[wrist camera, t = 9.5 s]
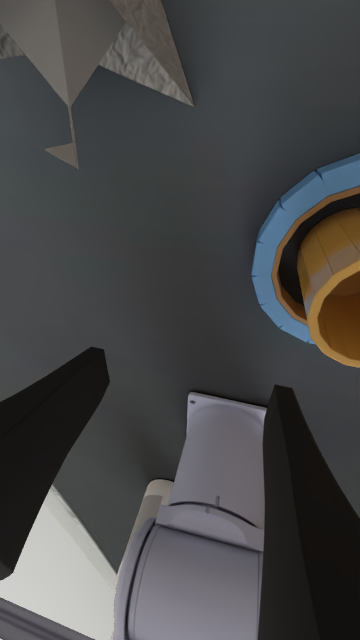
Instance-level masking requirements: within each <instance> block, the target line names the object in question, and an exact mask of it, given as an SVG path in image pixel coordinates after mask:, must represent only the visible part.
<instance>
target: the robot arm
mask: <svg viewBox="0 0 360 640" xmlns="http://www.w3.org/2000/svg"><path fill="white" fill-rule="evenodd" d="M109 383H110V380H109V375H108V370H107V364H106V359H105V353H104V349H99V348H94V347H90V348H89V349H87V350H85V351H84V352H82V353H81V354H79V355H78V356H76V357H75V358H73V359H72V360H70V361H69V362H67V363H66V364H64V365H63V366H61V367H60V368H58V369H56V370H55V371H53V372H52V373H50V374H49V375H47V376H46V377H44V378H42V379H41V380H39V381H37V382H35V383H34V384H32V385H30V386H29V387H27V388H25V389H24V390H22V391H20V392H18V393H17V394H15V395H13V396H11V397H9V398H7V399H5V400H3V401H1V402H0V580H3V579H5V578H6V577H8V576H10V575H11V574H12V573H13V571H14V569H15V566H16V564H17V561H18V559H19V556H20V554H21V552H22V549H23V547H24V544H25V542H26V540H27V537H28V535H29V532H30V530H31V528H32V526H33V524H34V521H35V519H36V517H37V515H38V513H39V510H40V508H41V506H42V504H43V502H44V500H45V498H46V496H47V494H48V491H49V489H50V487H51V485H52V483H53V481H54V479H55V477H56V475H57V473H58V471H59V469H60V468H61V466H62V464H63V462H64V460H65V458H66V456H67V454H68V453H69V451H70V449H71V448H72V446H73V445H74V443H75V441H76V440H77V438H78V437H79V435H80V434H81V432H82V431H83V429H84V427H85V426H86V424H87V423H88V421H89V420H90V418H91V416H92V415H93V413H94V412H95V410H96V408H97V407H98V405H99V404H100V402H101V400H102V398H103V396H104V394H105V391H106V389H107V387H108V385H109ZM264 501H265V526H264ZM114 619H115V620H114V633H113V640H360V518H359V517H358V515H357V514H356V512H355V511H354V509H353V507H352V506H351V504H350V503H349V501H348V499H347V498H346V496H345V495H344V493H343V491H342V490H341V488H340V486H339V485H338V483H337V481H336V480H335V478H334V476H333V474H332V473H331V471H330V469H329V467H328V465H327V464H326V462H325V460H324V458H323V456H322V454H321V452H320V450H319V448H318V446H317V444H316V442H315V440H314V438H313V436H312V434H311V432H310V430H309V428H308V425H307V423H306V421H305V419H304V416H303V414H302V412H301V409H300V407H299V404H298V401H297V399H296V396H295V393H294V391H293V389H292V388H289V387H284V386H279V385H274V389H273V392H272V395H271V398H270V401H269V404H268V407H267V408H265V407H260V406H256V405H251V404H247V403H242V402H237V401H233V400H228V399H223V398H219V397H214V396H209V395H205V394H200V393H196V392H190V393H189V395H188V411H187V437H186V441H185V444H184V448H183V452H182V455H181V459H180V463H179V466H178V470H177V474H176V477H175V481H174V485H173V488H172V492H171V496H170V499H169V503H168V506H167V505H160V508H159V511H158V515H157V518H154V517H153V518H149V519H147V520H146V521H145V522H144V523H143V525H142V526H140V527H139V528H138V530H137V531H136V532H135V534H134V536H133V538H132V540H131V542H130V544H129V546H128V548H127V551H126V554H125V557H124V559H123V563H122V566H121V569H120V573H119V577H118V582H117V587H116V593H115V600H114ZM0 638H1V639H3V640H94V639H92V638H90V637H88V636H85V635H83V634H81V633H79V632H77V631H74V630H72V629H70V628H68V627H65V626H63V625H61V624H59V623H56V622H54V621H52V620H49V619H47V618H45V617H43V616H41V615H38V614H36V613H34V612H32V611H29V610H27V609H25V608H23V607H20V606H18V605H16V604H14V603H12V602H9V601H7V600H5V599H3V598H0Z"/></svg>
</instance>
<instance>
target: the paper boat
mask: <svg viewBox="0 0 360 640" xmlns="http://www.w3.org/2000/svg"><path fill="white" fill-rule="evenodd" d="M24 55H26V56H27V57H28V58H29V60H30V61H31V62H32V63H33V64H34V66H35V67H36V68H37V69H38V71H39V72H40V73H41V74H42V75H43V77H44V78H45V79H46V80H47V81H48V83H49V84H50V85H51V86H52V88H53V89H54V90H55V91H56V92H57V94H58V95H59V96H60V97H61V99H62V100H63V101H64V102H65V103H66V105H67V106H68V110H69V117H70V125H71V133H72V140H73V143H70V144H66V145H61V146H56V147H52V148H47V149H44V150H45V151H47V152H49V153H51V154H53V155H54V156H56V157H58V158H60V159H61V160H63V161H65V162H67V163H68V164H70V165H72V166H74V167H76V169H79V165H78V157H77V149H76V141H75V134H74V126H73V118H72V110H71V106H72V104H73V103H74V101H75V100H76V98H77V97H78V95H79V94H80V92H81V90H82V89H83V87H84V86H85V84H86V83H87V81H88V80H89V78H90V77H91V75H92V74H93V72H94V70H95V69H96V67H97V66H98V65H100V66H102V67H104V68H106V69H109V70H111V71H113V72H115V73H118V74H120V75H122V76H125V77H127V78H129V79H131V80H134V81H136V82H138V83H141V84H143V85H145V86H147V87H150V88H152V89H154V90H156V91H159V92H161V93H163V94H166V95H168V96H170V97H172V98H175V99H177V100H179V101H182V102H184V103H186V104H188V105H191V106H193V107H194V104H193V100H192V97H191V94H190V91H189V88H188V84H187V81H186V78H185V75H184V72H183V68H182V65H181V62H180V59H179V56H178V52H177V49H176V46H175V43H174V40H173V36H172V33H171V30H170V27H169V24H168V20H167V17H166V14H165V11H164V8H163V4H162V1H161V0H0V59H5V58H11V57H17V56H24Z"/></svg>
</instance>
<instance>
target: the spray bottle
mask: <svg viewBox="0 0 360 640" xmlns="http://www.w3.org/2000/svg"><path fill="white" fill-rule="evenodd" d="M173 485H174V482H172V481H168V480H162V479H158V480H153V481H151V482H150V483H149V485H148V487H147V490H146V493H145V496H144V498H143V501H142V504H141V507H140V510H139V513H138V516H137V519H136V522H135V524H134V527H133V530H132V533H131V536H130V539H129V542H128V545H127V548H128V546H129V544H130V542H131V540H132V538H133V536H134V534H135V532H136V531H137V530H138V528H139V527H140V526H142V525H143V523H144V522H145V521H146V520H147V519H149V518H153V517H154V518H157V515H158V511H159V508H160V505H167V506H168V503H169V499H170V496H171V492H172V488H173ZM127 548H126V551H127ZM126 551H125V553H124V556H123V559H124V557H125V554H126ZM123 559H122V562H121V565H120V568H119V571H118V574H117V577H116V579H115V584H114V586H115V590H116V587H117V582H118V577H119V573H120V569H121V566H122V563H123ZM113 633H114V630H113ZM113 633H112V636H111V640H113Z"/></svg>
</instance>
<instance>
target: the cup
mask: <svg viewBox="0 0 360 640" xmlns="http://www.w3.org/2000/svg"><path fill="white" fill-rule="evenodd" d="M296 265H297V270H298V275H299V281H300V286H301V291H302V296H303V301H304V306H305V312H306V317H307V322H308V327H309V332H310V337H311V339H312V340H313V341H314V342H315V344H316V345H317V346H318V347H319V349H320V350H321V351H322V352H323V353H324V354H325V355H327V356H329V357H331V358H333V359H335V360H336V361H338V362H340V363H342V364H344V365H348V366H354V367H360V207H357V208H350V209H345V210H342V211H339V212H336V213H334V214H332V215H330V216H328V217H326V218H325V219H323V220H321V221H320V222H319V223H318V224H316V225H315V226H314V227H313V228H312V229H311V230H310V231H309V232H308V234H307V235H306V236H305V238H304V239H303V241H302V243H301V245H300V247H299V250H298V254H297V264H296Z"/></svg>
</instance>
